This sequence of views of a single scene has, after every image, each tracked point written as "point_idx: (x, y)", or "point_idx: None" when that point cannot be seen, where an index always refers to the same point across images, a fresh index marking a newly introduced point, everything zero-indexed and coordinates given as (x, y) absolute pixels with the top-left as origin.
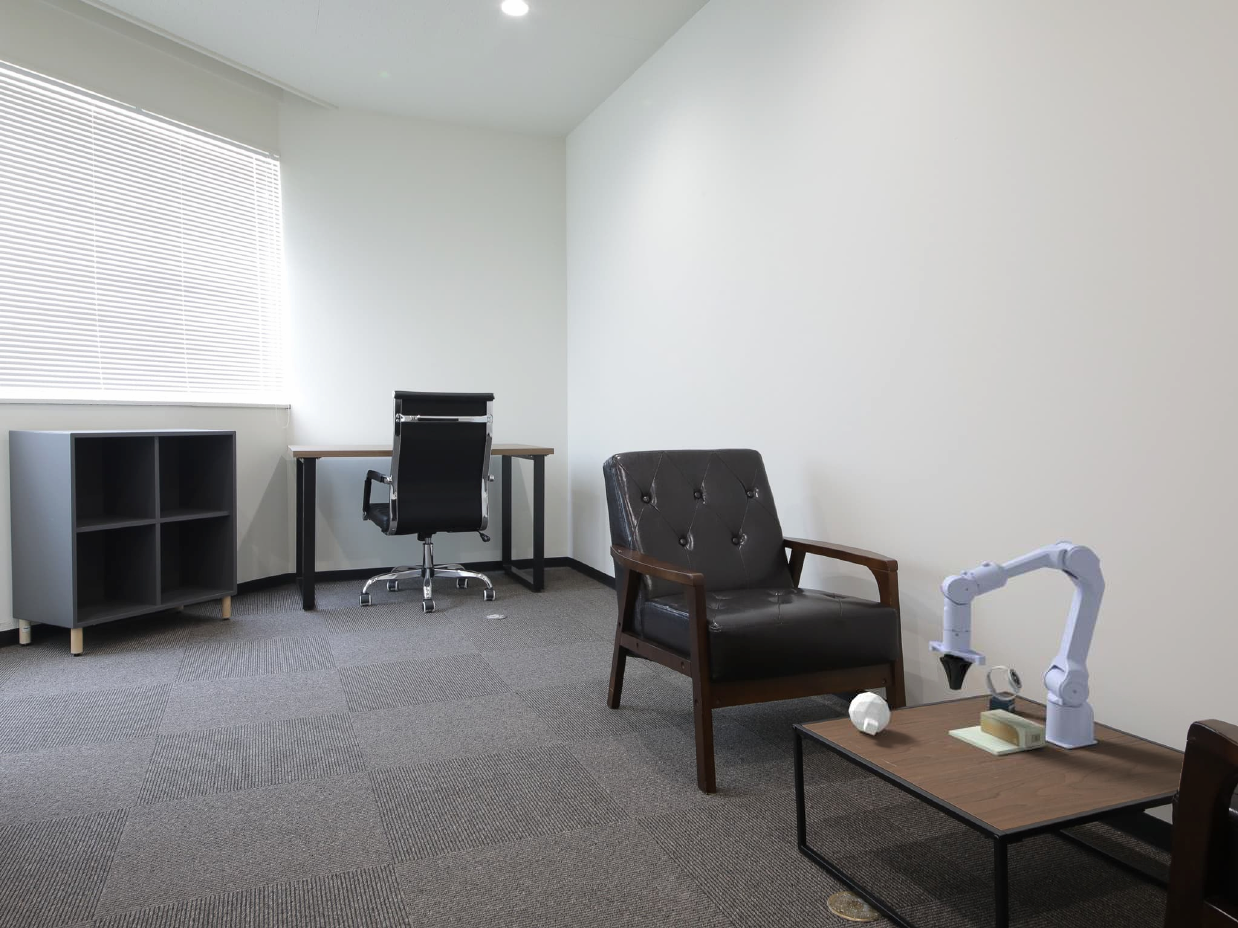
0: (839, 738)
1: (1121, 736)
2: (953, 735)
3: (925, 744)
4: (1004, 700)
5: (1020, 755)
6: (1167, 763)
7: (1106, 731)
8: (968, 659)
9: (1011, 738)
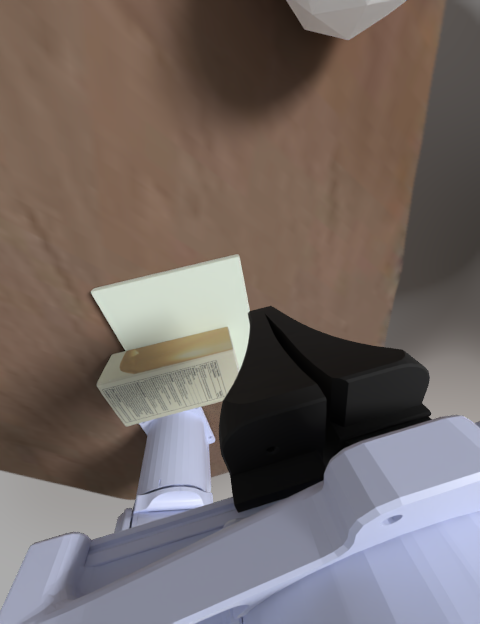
0: None
1: None
2: (224, 257)
3: (173, 129)
4: None
5: (100, 335)
6: (88, 488)
7: (210, 473)
8: (191, 530)
9: (144, 352)
